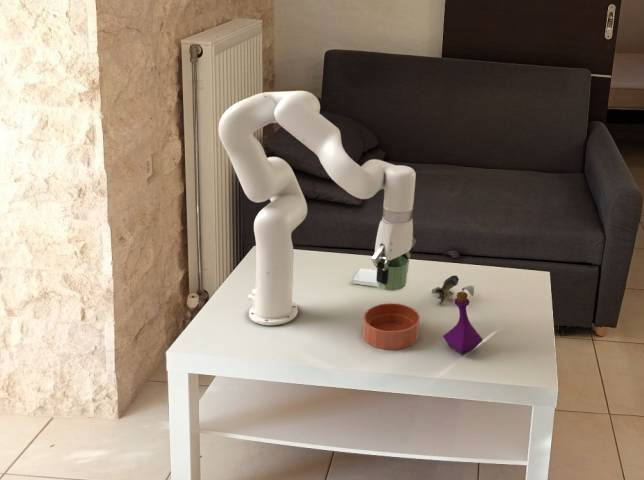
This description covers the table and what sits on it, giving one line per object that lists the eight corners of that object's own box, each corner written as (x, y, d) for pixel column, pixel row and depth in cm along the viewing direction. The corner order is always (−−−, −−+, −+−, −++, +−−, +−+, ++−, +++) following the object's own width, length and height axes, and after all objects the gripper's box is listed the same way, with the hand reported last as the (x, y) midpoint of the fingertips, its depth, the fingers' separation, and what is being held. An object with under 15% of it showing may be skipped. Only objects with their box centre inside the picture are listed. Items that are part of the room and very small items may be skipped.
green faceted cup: (371, 284, 189) (372, 261, 188) (389, 274, 195) (391, 252, 194) (393, 294, 185) (395, 270, 184) (411, 284, 192) (413, 261, 190)
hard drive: (352, 279, 217) (393, 284, 216) (361, 267, 225) (400, 272, 224) (352, 284, 218) (393, 289, 217) (360, 272, 226) (399, 277, 224)
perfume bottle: (441, 347, 189) (446, 284, 185) (462, 338, 194) (468, 276, 190) (460, 360, 184) (466, 295, 180) (482, 351, 189) (488, 287, 185)
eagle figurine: (460, 303, 210) (464, 284, 218) (447, 285, 208) (452, 266, 216) (437, 312, 212) (442, 293, 220) (425, 294, 210) (430, 275, 218)
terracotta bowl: (350, 337, 189) (351, 318, 188) (387, 315, 202) (388, 297, 201) (394, 358, 182) (395, 338, 181) (429, 334, 195) (430, 315, 193)
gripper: (407, 201, 195) (402, 262, 199) (363, 218, 181) (358, 283, 184) (429, 209, 191) (424, 271, 195) (386, 227, 177) (380, 294, 181)
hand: (392, 276), depth 190 cm, fingers closed on green faceted cup, 7 cm apart
